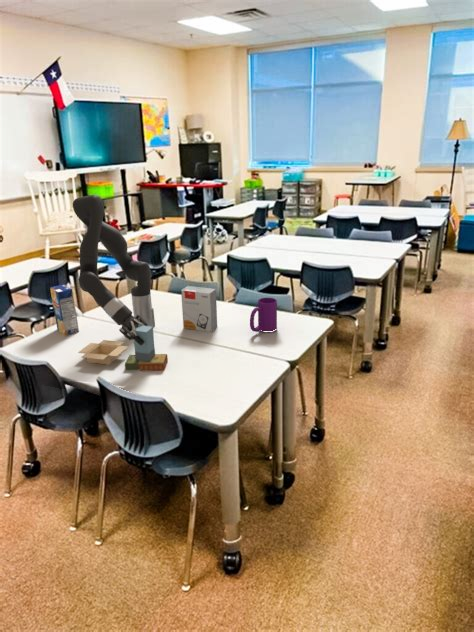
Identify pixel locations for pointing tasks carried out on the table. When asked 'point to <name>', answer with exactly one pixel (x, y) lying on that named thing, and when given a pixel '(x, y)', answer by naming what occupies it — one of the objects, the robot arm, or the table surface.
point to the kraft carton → (103, 351)
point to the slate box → (147, 349)
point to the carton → (147, 363)
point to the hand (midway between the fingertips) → (147, 340)
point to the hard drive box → (199, 308)
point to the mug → (265, 315)
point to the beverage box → (64, 309)
